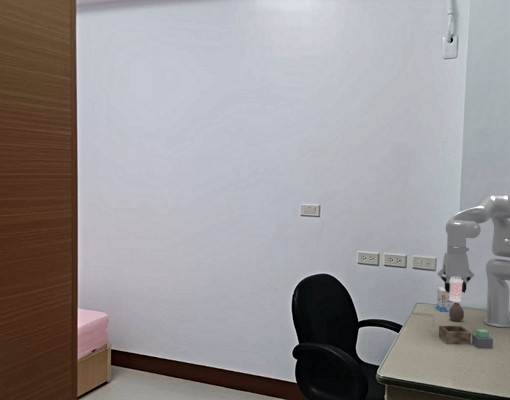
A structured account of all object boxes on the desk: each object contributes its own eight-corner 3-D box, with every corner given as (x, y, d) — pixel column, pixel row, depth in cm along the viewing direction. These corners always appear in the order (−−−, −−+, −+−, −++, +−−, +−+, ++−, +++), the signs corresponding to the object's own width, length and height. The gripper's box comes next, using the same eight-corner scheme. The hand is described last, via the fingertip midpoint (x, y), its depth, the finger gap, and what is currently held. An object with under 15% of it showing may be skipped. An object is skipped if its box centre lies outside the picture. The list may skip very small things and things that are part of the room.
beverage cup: (461, 302, 211) (462, 270, 211) (446, 300, 214) (447, 268, 214) (463, 300, 216) (464, 268, 216) (449, 298, 219) (449, 266, 219)
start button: (484, 341, 211) (485, 329, 210) (488, 344, 207) (489, 332, 207) (475, 340, 211) (476, 329, 210) (479, 343, 207) (480, 331, 207)
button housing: (486, 343, 212) (486, 334, 212) (492, 348, 206) (492, 338, 206) (472, 343, 212) (472, 334, 212) (478, 348, 206) (478, 338, 206)
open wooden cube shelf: (461, 337, 221) (461, 325, 221) (470, 344, 211) (470, 332, 211) (438, 336, 221) (438, 325, 221) (446, 343, 211) (447, 332, 211)
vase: (465, 323, 244) (465, 305, 243) (450, 322, 245) (450, 304, 245) (462, 319, 250) (462, 302, 250) (447, 318, 252) (448, 301, 251)
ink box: (439, 311, 265) (440, 290, 264) (436, 307, 273) (437, 286, 273) (456, 312, 263) (457, 290, 263) (453, 308, 272) (453, 287, 271)
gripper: (472, 249, 218) (471, 290, 219) (433, 249, 219) (432, 289, 219) (480, 251, 211) (479, 294, 211) (439, 251, 211) (438, 293, 212)
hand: (455, 291), depth 215 cm, fingers closed on beverage cup, 6 cm apart
